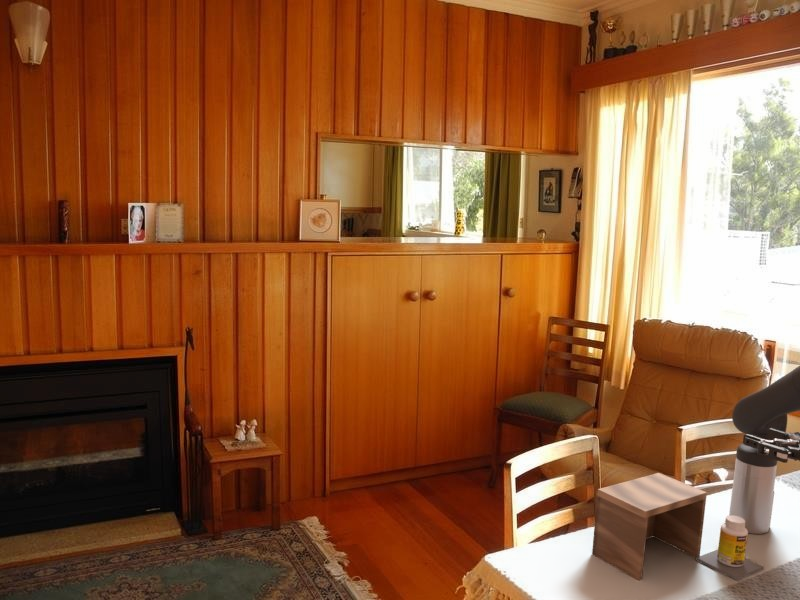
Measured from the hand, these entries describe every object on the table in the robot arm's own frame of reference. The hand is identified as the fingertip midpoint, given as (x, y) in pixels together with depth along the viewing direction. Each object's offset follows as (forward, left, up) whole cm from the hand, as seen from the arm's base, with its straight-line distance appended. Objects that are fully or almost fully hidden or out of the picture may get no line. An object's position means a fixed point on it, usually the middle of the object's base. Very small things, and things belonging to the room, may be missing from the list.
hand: (756, 435), depth 159 cm
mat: (-3, -5, -32) cm, 33 cm away
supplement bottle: (-4, -4, -32) cm, 32 cm away
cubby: (+10, -17, -32) cm, 37 cm away
